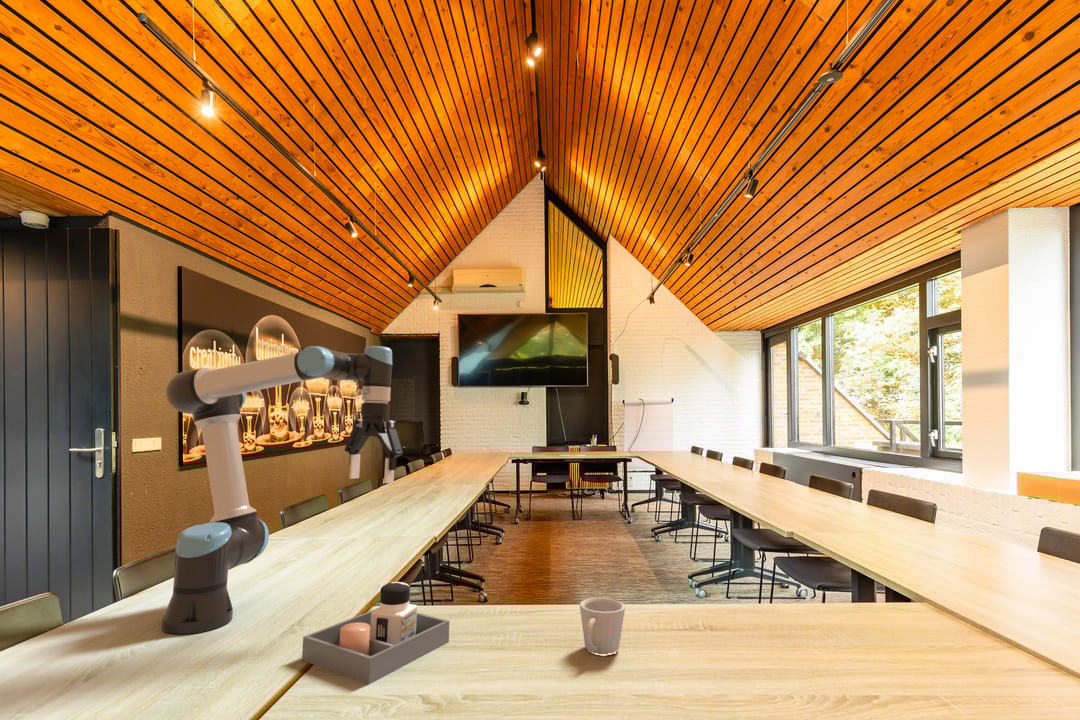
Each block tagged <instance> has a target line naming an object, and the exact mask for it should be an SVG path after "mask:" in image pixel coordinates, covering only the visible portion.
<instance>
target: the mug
mask: <svg viewBox="0 0 1080 720" xmlns="http://www.w3.org/2000/svg"><path fill="white" fill-rule="evenodd" d="M625 610H626V607H625V604H624V603H623V602H621V601H618V600H616V599H612V598H609V597H607V598H606V597H591V598H587V599H584V600H582V601H581V602H580V603H579V611H580V618H581V625H582V626H581V627H582V632H583V633H582V634H583V640H584V647H585V650H586V649H587V650H589V651H590V652H593V653H598V654H608V653H613V652H615V651H617V650H618V649H619V650H620V645H621V638H622V630H623V625H624V619H625V618H624V617H625V612H626V611H625ZM587 650H586V651H587ZM619 650H618V651H619Z"/></svg>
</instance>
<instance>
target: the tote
mask: <svg viewBox="0 0 1080 720" xmlns="http://www.w3.org/2000/svg"><path fill="white" fill-rule="evenodd" d="M378 608H379V607H378ZM378 608H377V607H376V608H374V609H372V610H368V611H367V612H365V613H361V614H358V615H357V616H354V617H351V618H348V619H346V620H343V621H340V622H339V623H335V624H333V625H330V626H328V627H326V628H325V627H324V628H322V629H320V630H317V631H315V632H312V633H309V634H307V635H304V636H303V637H302V654H301V660H302V661H303V662H306V663H308V664H311V665H315V666H317V667H320V668H322V669H326V670H329V671H330V672H334V673H335V674H336V673H337V674H340V675H341V676H345V677H347V678H350V679H353V680H356V681H358V682H362V683H364V684H367V685H371V684H373V683H375V682H376V681H379V680H380V679H382V678H384V677H386V676H388V675H390V674H392V673H394V672H395V671H398V670H399V669H401V668H403V667H404V666H407V665H408V664H410V663H412V662H413V663H414V661H416V660H418V659H420V658H422V657H424V656H426V655H427V654H428V655H429V653H431V652H434V651H435V650H437V649H439V648H441V647H443V646H445V645H446V644H449V641H450V620H448V619H444V618H439V617H436V616H432V615H429V614H425V613H424V614H423V613H419V612H417V620H416V635H415V636H412V637H410V638H408V639H406V640H404V641H402V642H400V643H398V644H396V645H392V644H389V643H386V642H382V641H379V640H376V639H372V638H370V639H369V656H368V655H365V654H362V653H359V652H356V651H353V650H350V649H347V648H344V647H341V646H339V644H340V628H341V627H342V626H344V625H346V624H350V623H357V622H361V623H367V624H369V625H370V626H371V613H372V612H373V611H374V610H376V609H378Z"/></svg>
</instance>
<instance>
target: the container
mask: <svg viewBox="0 0 1080 720" xmlns="http://www.w3.org/2000/svg"><path fill="white" fill-rule="evenodd" d="M410 595H411V587H410V585H409V584H408V583H405V582H402V581H401V582H400V581H394V582H393V581H391V582H389V583H388V582H387V583H385V584H384V585H382V586H381V587H380V598H379V599H380V600H379V606H380V607H378V609H377V608H375V609H376V610H374V609H373V610H374V611H373V612H372V613H371V626H370V638H372V639H376V640H379V641H382V642H386V643H389V644H392V645H396V644H398V643H400V642H402V641H404V640H406V639H408V638H410V637H412V636H415V635H416V620H417V613H418V606H417V604H411V603H410V600H411V599H410V598H411V597H410Z"/></svg>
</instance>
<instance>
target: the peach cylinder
mask: <svg viewBox="0 0 1080 720" xmlns="http://www.w3.org/2000/svg"><path fill="white" fill-rule="evenodd" d="M369 639H370V625H369V624H367V623H361V622H357V623H350V624H346V625H344V626H342V627H341V628H340V644H339V646H341V647H344V648H347V649H350V650H353V651H356V652H359V653H362V654H365V655H368V656H369Z"/></svg>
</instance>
